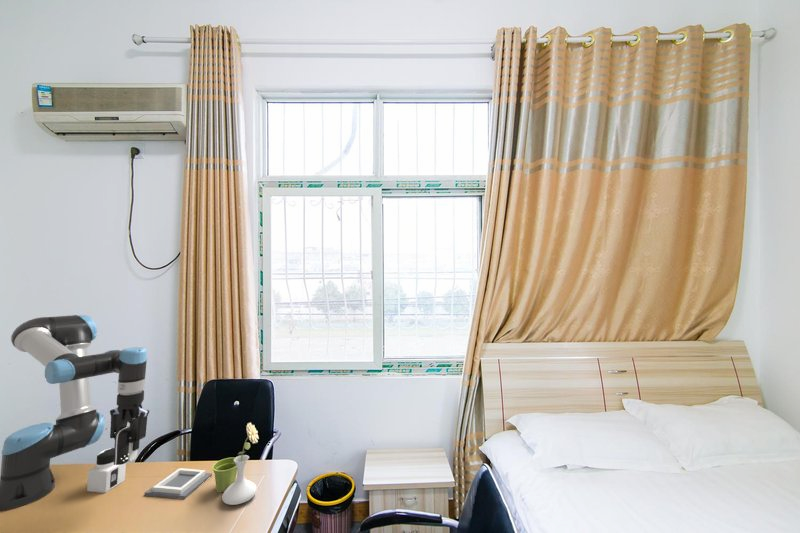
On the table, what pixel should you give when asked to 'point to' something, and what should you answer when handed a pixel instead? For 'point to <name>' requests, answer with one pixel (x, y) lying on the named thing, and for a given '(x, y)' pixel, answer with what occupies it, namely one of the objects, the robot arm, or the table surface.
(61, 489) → the table surface
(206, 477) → the tray
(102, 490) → the container
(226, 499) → the flower in vase
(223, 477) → the plant pot
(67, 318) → the robot arm
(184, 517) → the table surface
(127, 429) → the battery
